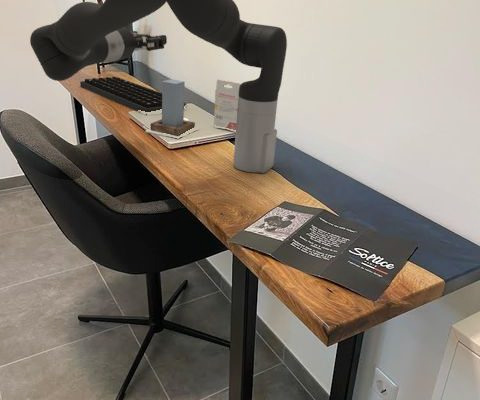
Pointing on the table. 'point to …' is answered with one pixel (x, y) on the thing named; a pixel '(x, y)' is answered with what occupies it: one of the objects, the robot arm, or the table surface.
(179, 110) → the grey rectangular bar
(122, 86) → the computer keyboard
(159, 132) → the mat
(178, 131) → the brown square frame
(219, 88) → the ink cartridge box
